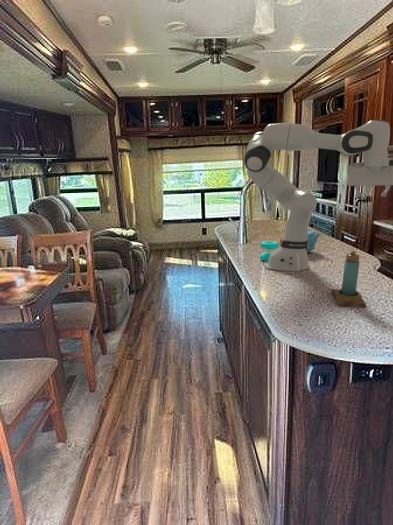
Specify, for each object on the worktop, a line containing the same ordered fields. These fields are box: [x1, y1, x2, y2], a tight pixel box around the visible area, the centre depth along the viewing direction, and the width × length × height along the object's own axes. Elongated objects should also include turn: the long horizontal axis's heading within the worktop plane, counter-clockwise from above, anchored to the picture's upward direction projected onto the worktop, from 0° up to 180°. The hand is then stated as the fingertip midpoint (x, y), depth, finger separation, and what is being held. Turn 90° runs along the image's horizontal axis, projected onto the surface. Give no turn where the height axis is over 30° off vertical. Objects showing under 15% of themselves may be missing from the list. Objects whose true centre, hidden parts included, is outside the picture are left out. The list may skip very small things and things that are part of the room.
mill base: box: [330, 288, 367, 309], centre depth 135 cm, size 10×15×3 cm, turn 168°
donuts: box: [259, 240, 280, 262], centre depth 195 cm, size 10×10×10 cm
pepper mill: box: [341, 250, 361, 296], centre depth 132 cm, size 5×5×18 cm
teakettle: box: [282, 227, 324, 254], centre depth 210 cm, size 19×19×15 cm
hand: (371, 196), depth 148 cm, fingers open, 8 cm apart
